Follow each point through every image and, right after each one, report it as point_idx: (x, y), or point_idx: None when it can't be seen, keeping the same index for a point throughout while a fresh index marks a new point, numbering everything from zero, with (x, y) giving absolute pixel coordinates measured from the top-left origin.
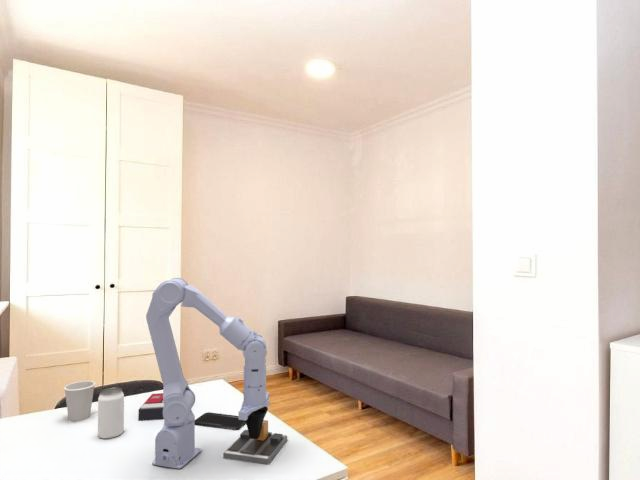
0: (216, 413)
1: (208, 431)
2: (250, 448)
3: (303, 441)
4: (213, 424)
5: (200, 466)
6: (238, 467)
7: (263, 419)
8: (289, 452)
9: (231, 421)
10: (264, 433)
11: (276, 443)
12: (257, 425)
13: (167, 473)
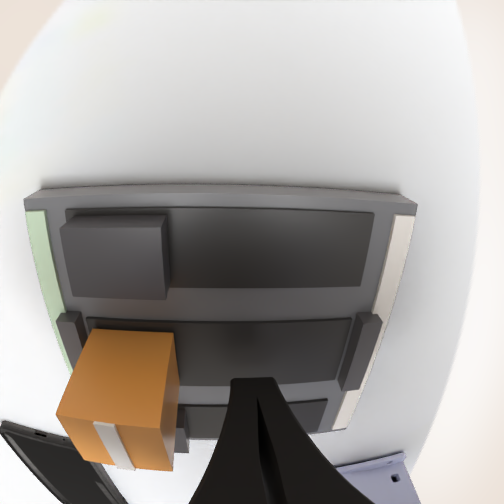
0: (51, 492)
1: (148, 493)
2: (296, 362)
3: (27, 69)
4: (110, 494)
5: (393, 430)
6: (419, 329)
7: (204, 491)
8: (211, 95)
9: (57, 465)
10: (151, 365)
11: (176, 228)
12: (333, 472)
13: (415, 455)
